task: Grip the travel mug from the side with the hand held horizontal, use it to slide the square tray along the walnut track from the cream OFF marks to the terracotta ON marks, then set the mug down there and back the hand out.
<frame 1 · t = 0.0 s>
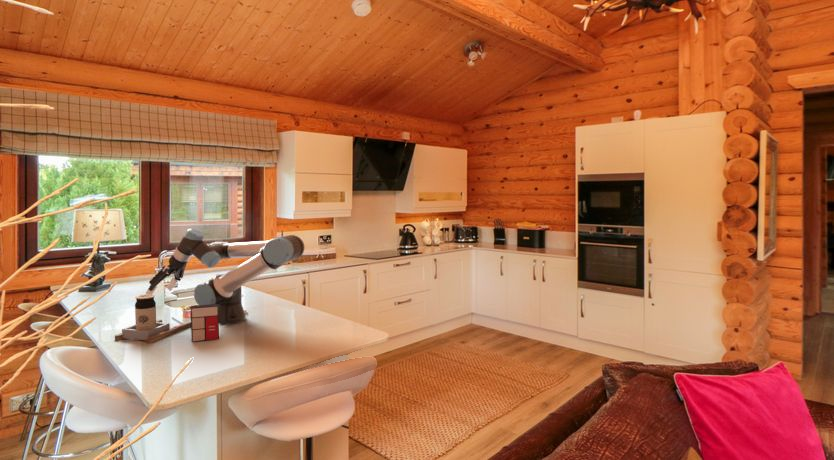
hand: (158, 292, 237), 15 cm above the countertop, tool tilted 35°, fingers open, 13 cm apart
switch track: (154, 332, 223), on the countertop
travel mug: (146, 336, 218), resting in square tray
cream and red box: (205, 340, 214), on the countertop
square tray: (146, 330, 218), point 3 cm above the countertop, slide at 0.0 cm
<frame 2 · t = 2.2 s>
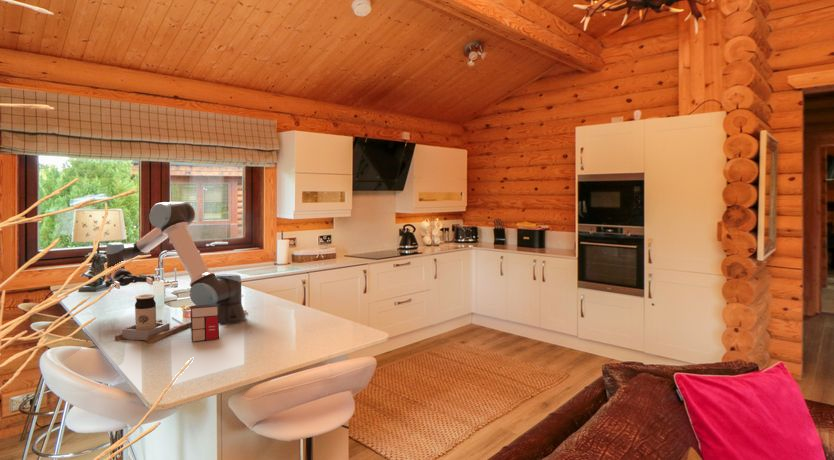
hand: (135, 284, 225), 22 cm above the countertop, tool horizontal, fingers open, 13 cm apart
nothing on the countertop moved.
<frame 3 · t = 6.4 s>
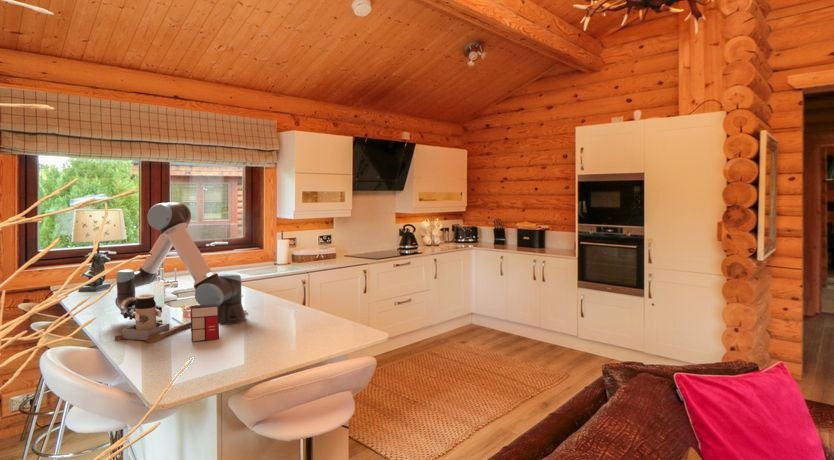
hand: (149, 315, 214), 10 cm above the countertop, tool horizontal, fingers closed on travel mug, 8 cm apart
travel mug: (146, 336, 218), resting in square tray, touching gripper
everything else where it was.
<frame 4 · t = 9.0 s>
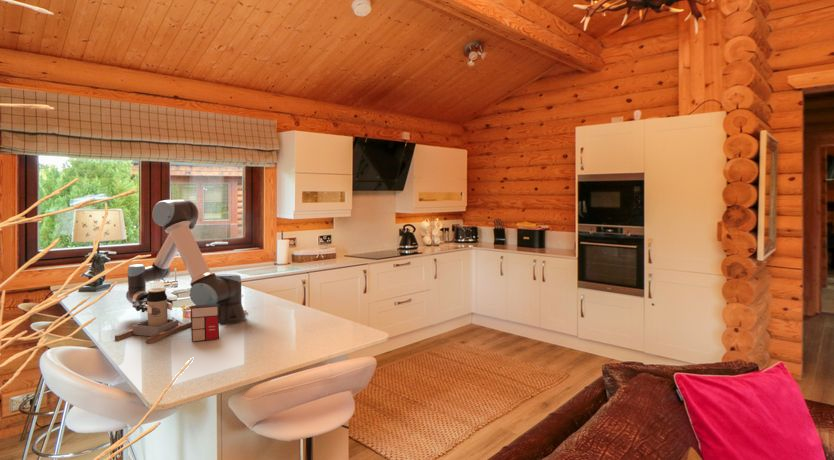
hand: (161, 308, 221), 11 cm above the countertop, tool horizontal, fingers closed on travel mug, 8 cm apart
travel mug: (158, 328, 225), point 1 cm above the countertop, touching gripper, square tray
square tray: (156, 326, 224), point 3 cm above the countertop, slide at 5.9 cm, touching travel mug
everything else where it was.
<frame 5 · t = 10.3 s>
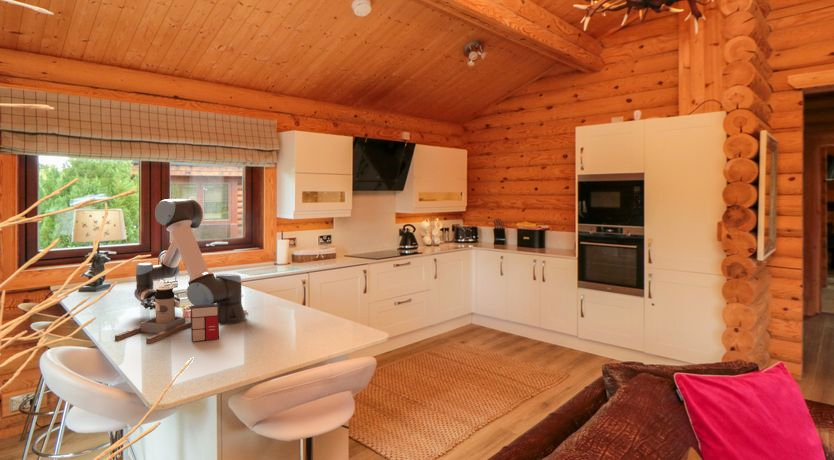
hand: (168, 306, 226), 11 cm above the countertop, tool horizontal, fingers closed on travel mug, 8 cm apart
travel mug: (165, 325, 230), point 1 cm above the countertop, touching gripper, square tray
square tray: (163, 324, 228), point 3 cm above the countertop, slide at 10.5 cm, touching travel mug
everything else where it was.
when the fingers open (10 cm above the countertop, at t = 11.3 s): travel mug stays where it is, resting in square tray.
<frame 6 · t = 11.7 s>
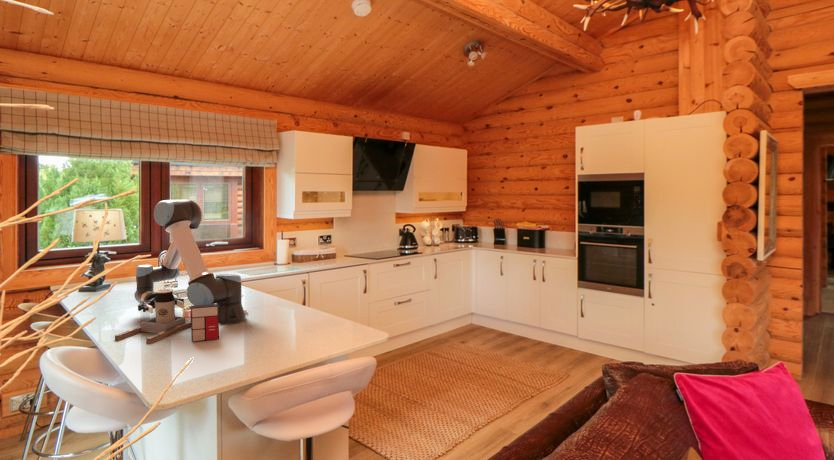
hand: (167, 307, 227), 10 cm above the countertop, tool horizontal, fingers open, 13 cm apart
travel mug: (165, 328, 230), resting in square tray
square tray: (163, 324, 228), point 3 cm above the countertop, slide at 10.7 cm
everything else where it was.
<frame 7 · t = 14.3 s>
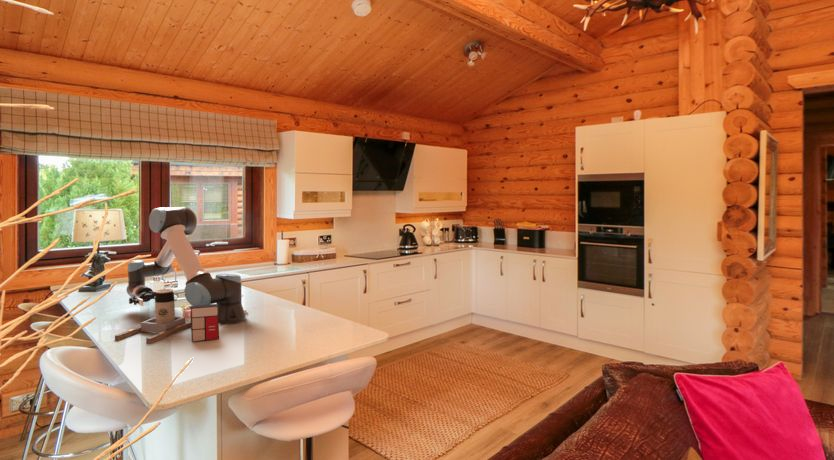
hand: (157, 300, 236), 11 cm above the countertop, tool horizontal, fingers open, 13 cm apart
nothing on the countertop moved.
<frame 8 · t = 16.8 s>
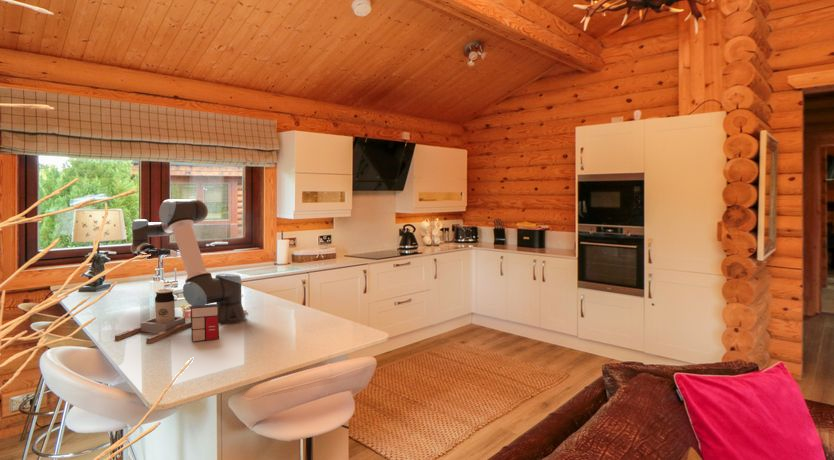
hand: (161, 255, 243), 32 cm above the countertop, tool horizontal, fingers open, 13 cm apart
nothing on the countertop moved.
at the end: square tray slide at 10.7 cm; travel mug inside the target area (1.0 cm from its centre), resting in square tray; travel mug tilted 0° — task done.
